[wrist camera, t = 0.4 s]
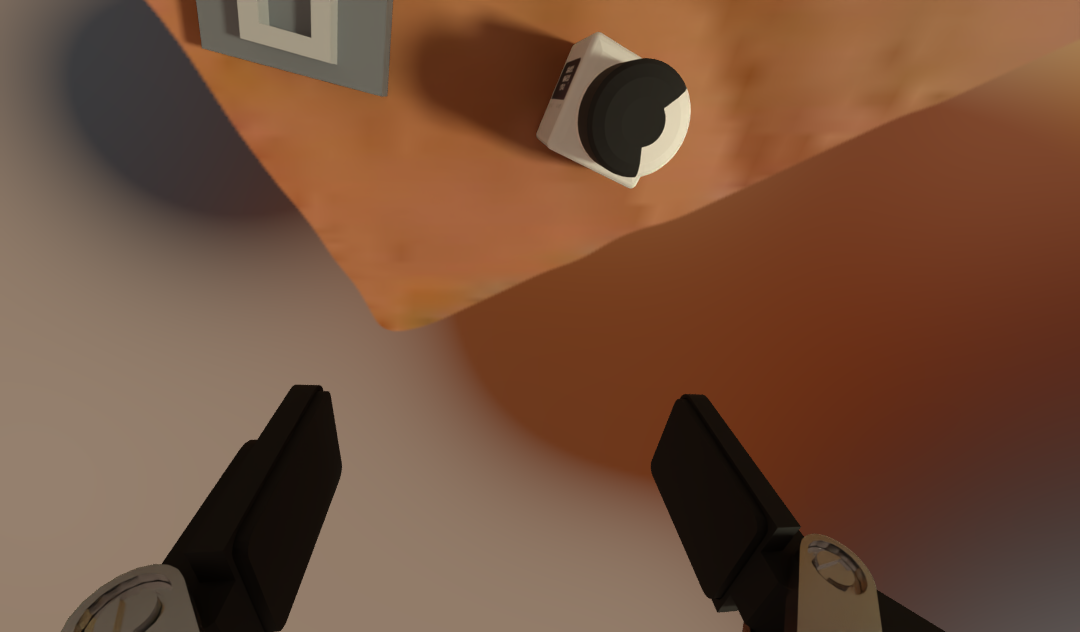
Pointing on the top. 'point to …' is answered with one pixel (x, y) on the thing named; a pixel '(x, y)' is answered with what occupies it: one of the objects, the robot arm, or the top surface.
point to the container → (616, 111)
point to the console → (305, 37)
